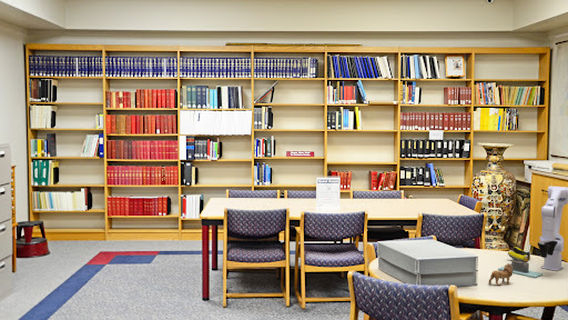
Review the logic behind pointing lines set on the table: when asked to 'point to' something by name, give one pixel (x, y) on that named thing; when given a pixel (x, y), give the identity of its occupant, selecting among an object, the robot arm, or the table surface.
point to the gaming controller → (519, 254)
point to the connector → (520, 266)
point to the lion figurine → (502, 274)
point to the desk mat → (530, 274)
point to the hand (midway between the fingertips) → (546, 256)
